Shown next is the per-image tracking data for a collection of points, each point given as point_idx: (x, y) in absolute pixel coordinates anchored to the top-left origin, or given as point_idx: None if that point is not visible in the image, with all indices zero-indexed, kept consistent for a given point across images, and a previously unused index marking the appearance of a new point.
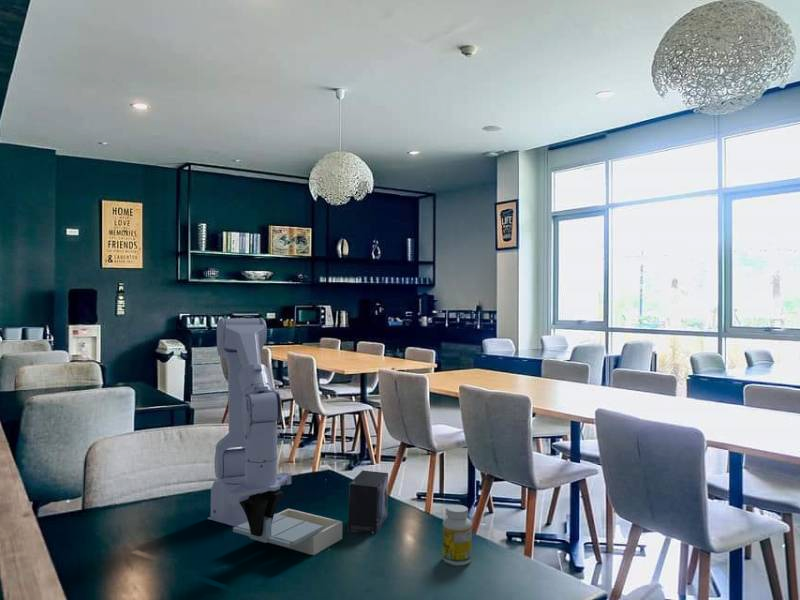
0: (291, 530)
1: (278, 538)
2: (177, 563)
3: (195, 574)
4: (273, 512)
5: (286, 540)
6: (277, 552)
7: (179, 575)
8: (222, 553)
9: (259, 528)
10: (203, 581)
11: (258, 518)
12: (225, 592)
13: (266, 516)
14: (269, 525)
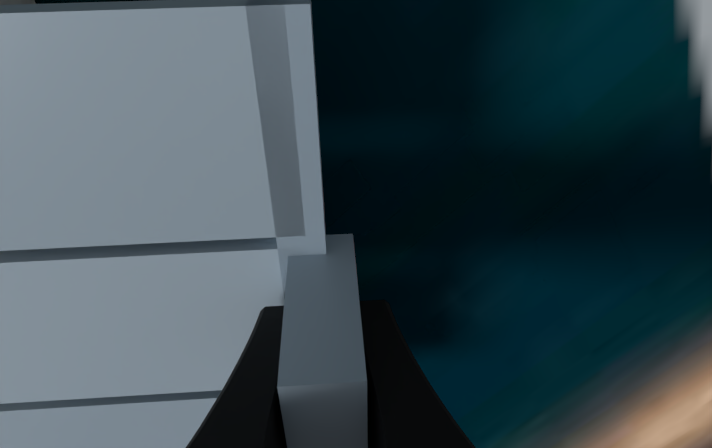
0: (70, 216)
1: (281, 182)
2: (510, 427)
3: (566, 331)
4: (219, 444)
5: (267, 87)
6: None
7: (595, 363)
8: None
9: (407, 347)
10: (615, 266)
11: (463, 435)
12: (697, 103)
13: (275, 438)
14: (311, 329)
